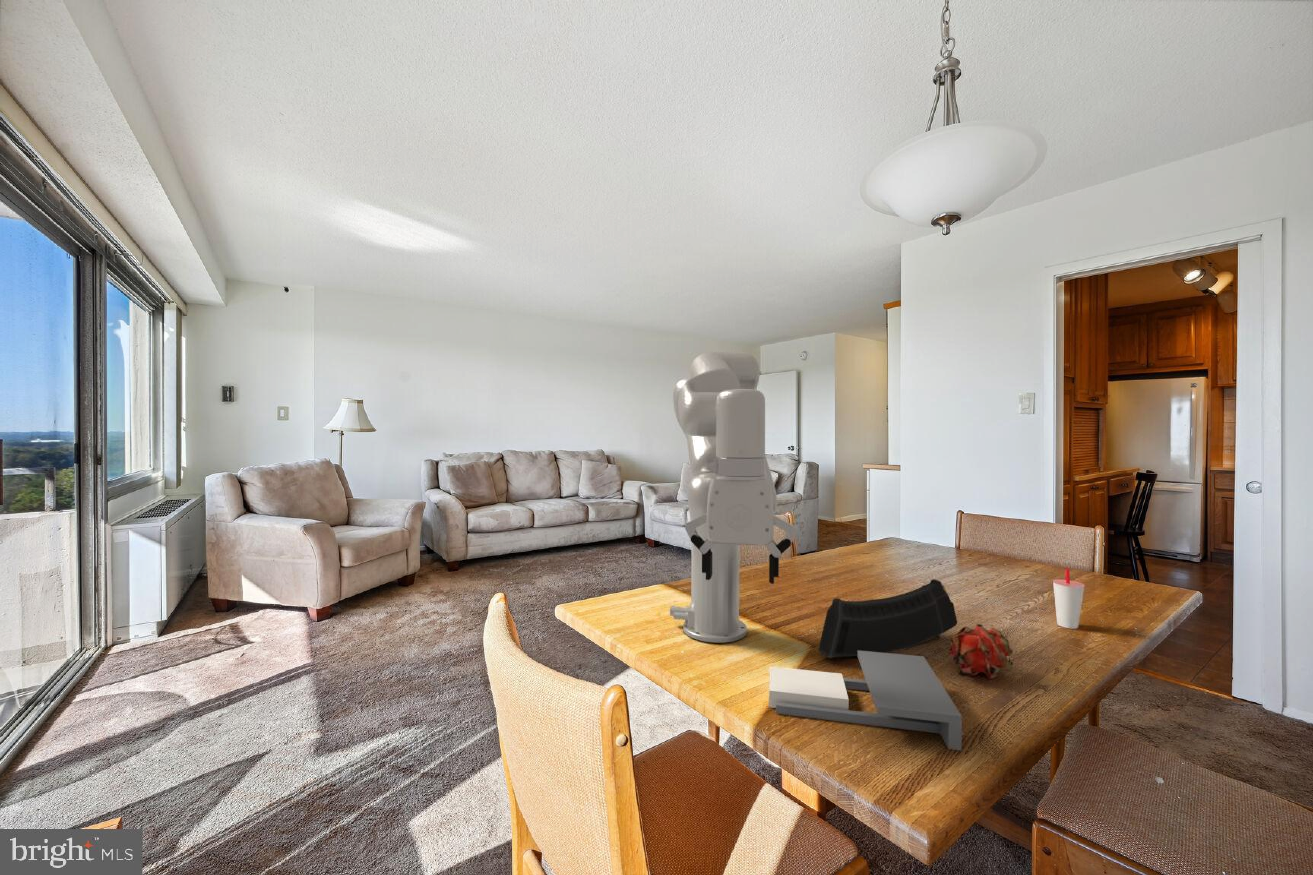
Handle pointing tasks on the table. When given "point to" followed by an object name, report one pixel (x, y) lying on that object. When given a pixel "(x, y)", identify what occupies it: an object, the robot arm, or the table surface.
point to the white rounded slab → (807, 688)
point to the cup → (1068, 601)
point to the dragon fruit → (980, 651)
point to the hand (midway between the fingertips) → (739, 579)
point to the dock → (895, 698)
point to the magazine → (887, 622)
